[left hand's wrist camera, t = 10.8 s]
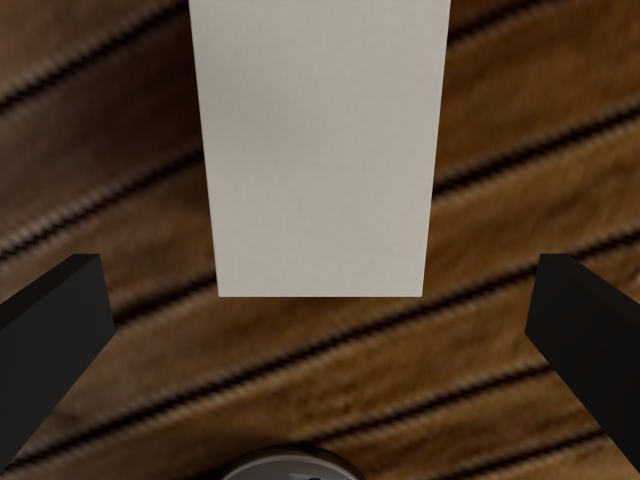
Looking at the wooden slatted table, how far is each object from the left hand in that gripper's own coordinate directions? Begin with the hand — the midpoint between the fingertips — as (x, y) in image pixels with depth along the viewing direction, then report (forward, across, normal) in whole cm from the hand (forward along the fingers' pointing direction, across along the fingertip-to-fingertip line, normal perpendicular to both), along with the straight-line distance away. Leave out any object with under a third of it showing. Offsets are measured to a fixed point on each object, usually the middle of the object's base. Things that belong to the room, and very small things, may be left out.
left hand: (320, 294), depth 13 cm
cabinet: (+16, 0, -5) cm, 17 cm away
